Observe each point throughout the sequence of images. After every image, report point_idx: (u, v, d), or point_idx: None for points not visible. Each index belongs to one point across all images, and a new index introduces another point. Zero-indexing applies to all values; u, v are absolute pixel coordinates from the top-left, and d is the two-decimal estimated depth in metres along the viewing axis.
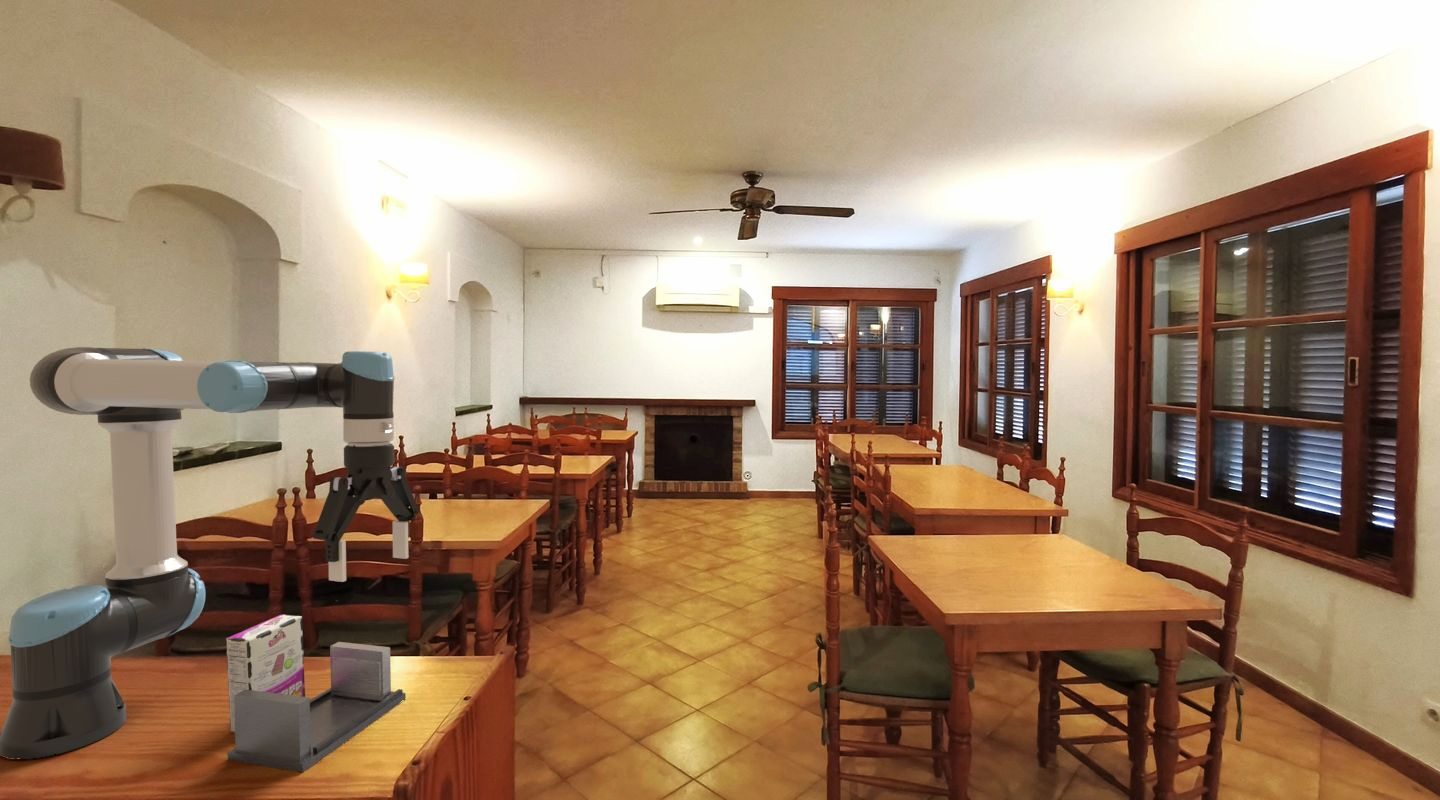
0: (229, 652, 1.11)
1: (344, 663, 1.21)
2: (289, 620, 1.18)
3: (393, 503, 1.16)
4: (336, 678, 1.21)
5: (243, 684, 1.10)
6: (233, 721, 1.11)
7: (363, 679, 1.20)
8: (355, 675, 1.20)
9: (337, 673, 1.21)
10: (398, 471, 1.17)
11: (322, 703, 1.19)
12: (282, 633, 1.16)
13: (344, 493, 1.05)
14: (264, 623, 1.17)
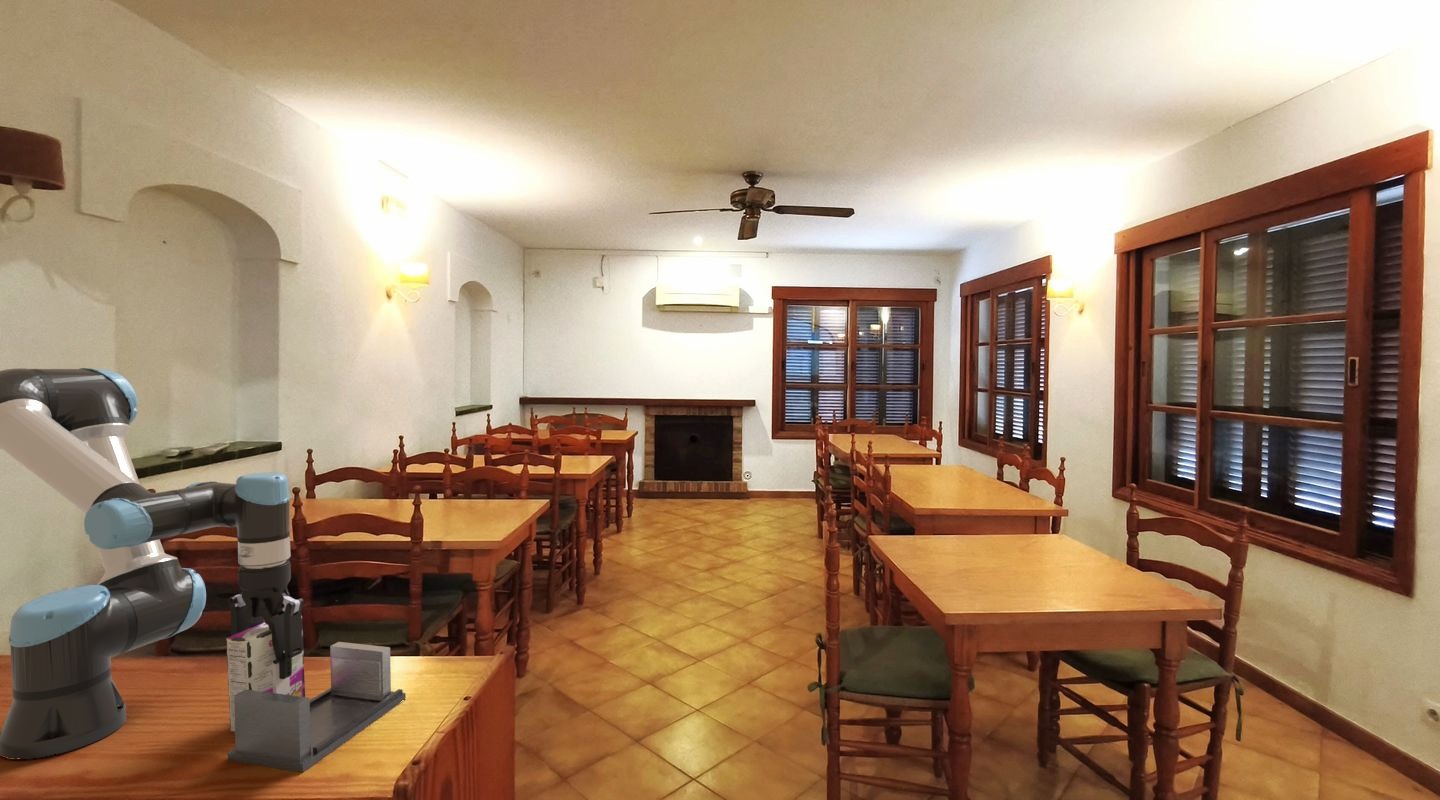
0: (230, 652, 1.11)
1: (344, 663, 1.21)
2: None
3: (272, 632, 1.14)
4: (336, 678, 1.21)
5: (243, 683, 1.10)
6: (233, 721, 1.11)
7: (363, 679, 1.20)
8: (355, 675, 1.20)
9: (337, 673, 1.21)
10: None
11: (322, 703, 1.19)
12: None
13: (233, 611, 1.15)
14: (264, 623, 1.17)
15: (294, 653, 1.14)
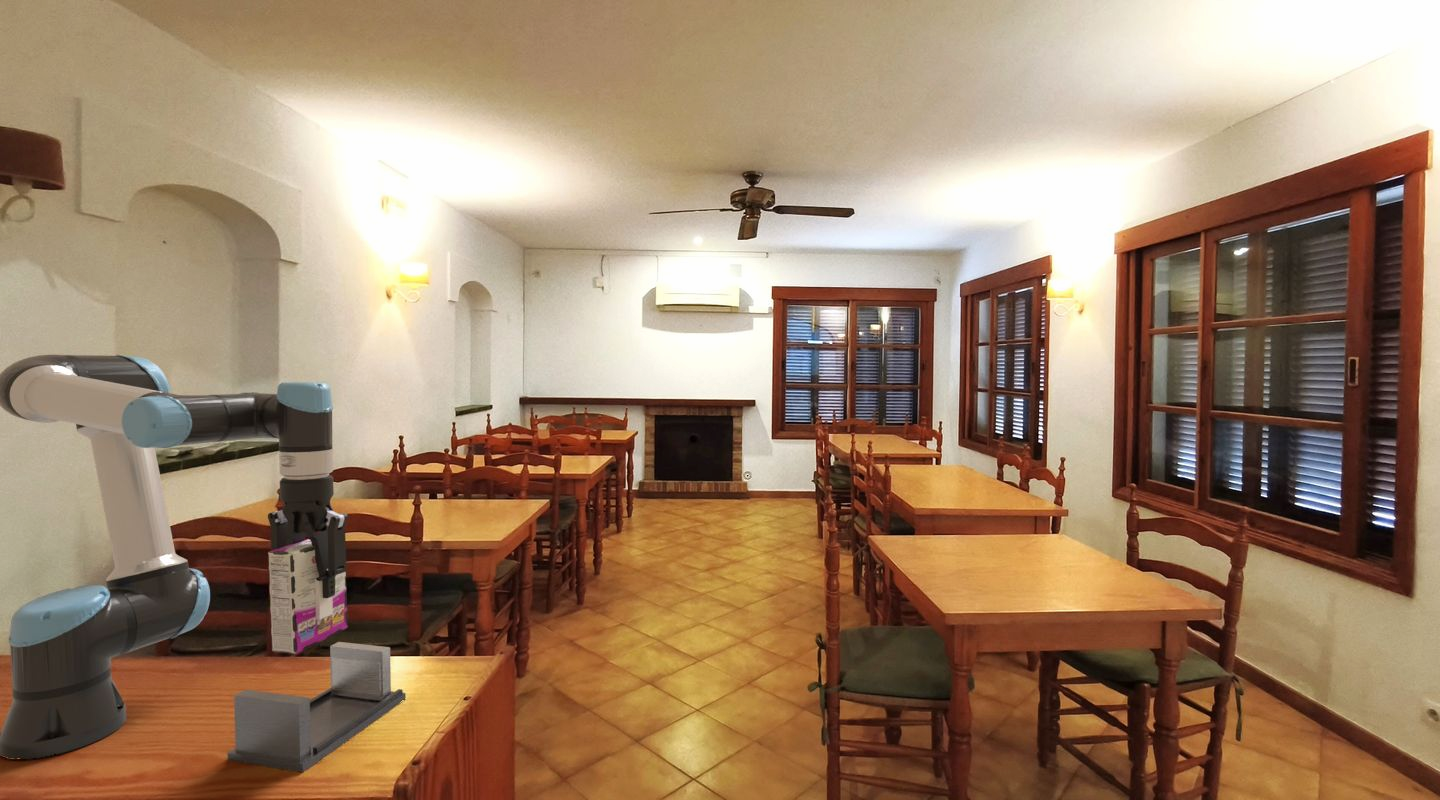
0: (271, 567, 1.05)
1: (344, 663, 1.21)
2: None
3: (315, 549, 1.08)
4: (336, 678, 1.21)
5: (285, 599, 1.04)
6: (275, 640, 1.05)
7: (363, 679, 1.20)
8: (355, 675, 1.20)
9: (337, 673, 1.21)
10: None
11: (322, 703, 1.19)
12: None
13: (273, 527, 1.09)
14: (306, 540, 1.11)
15: (338, 570, 1.08)
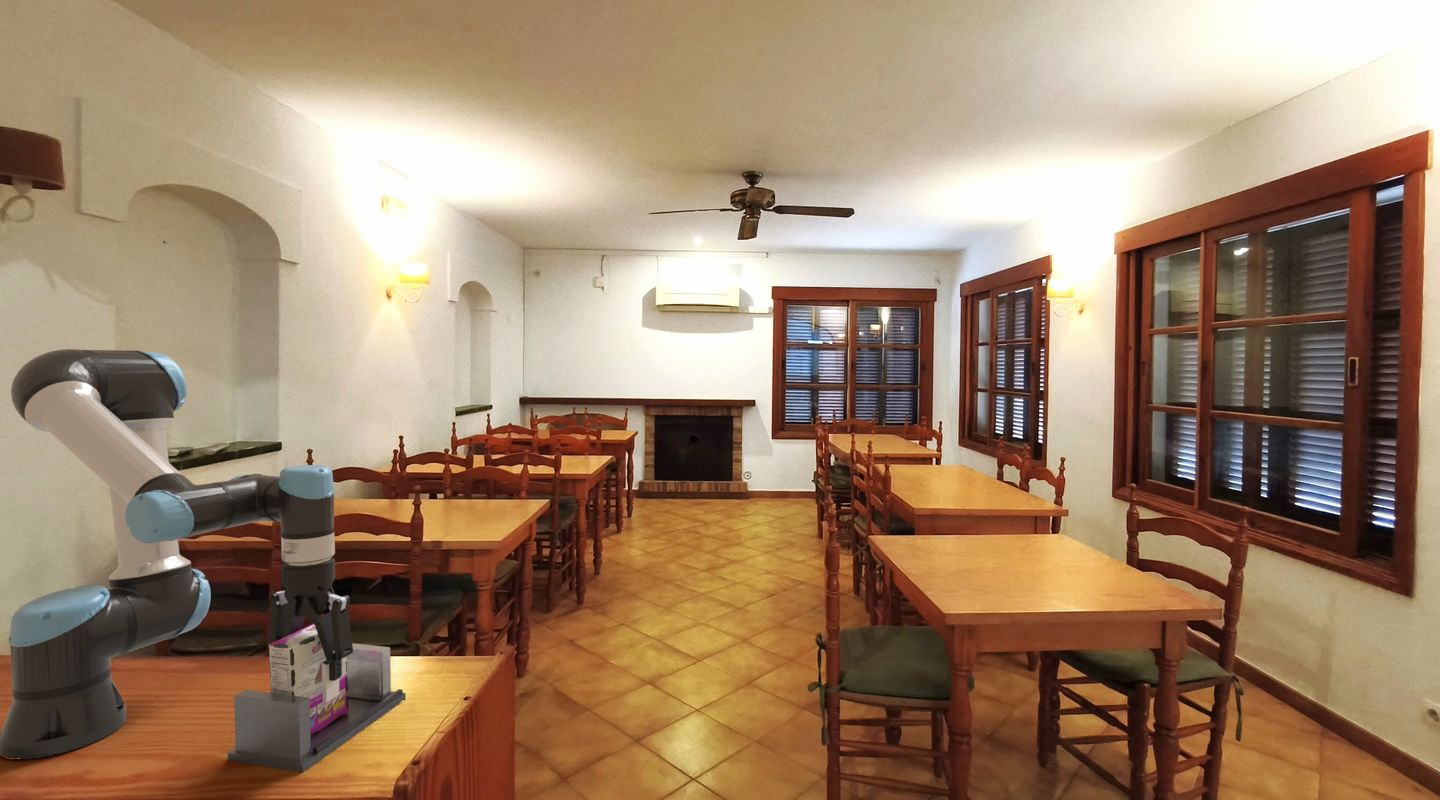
0: (272, 659, 1.05)
1: None
2: None
3: None
4: None
5: (286, 692, 1.05)
6: None
7: (363, 679, 1.20)
8: (355, 675, 1.20)
9: None
10: None
11: None
12: None
13: (274, 609, 1.10)
14: (307, 628, 1.11)
15: (345, 653, 1.08)
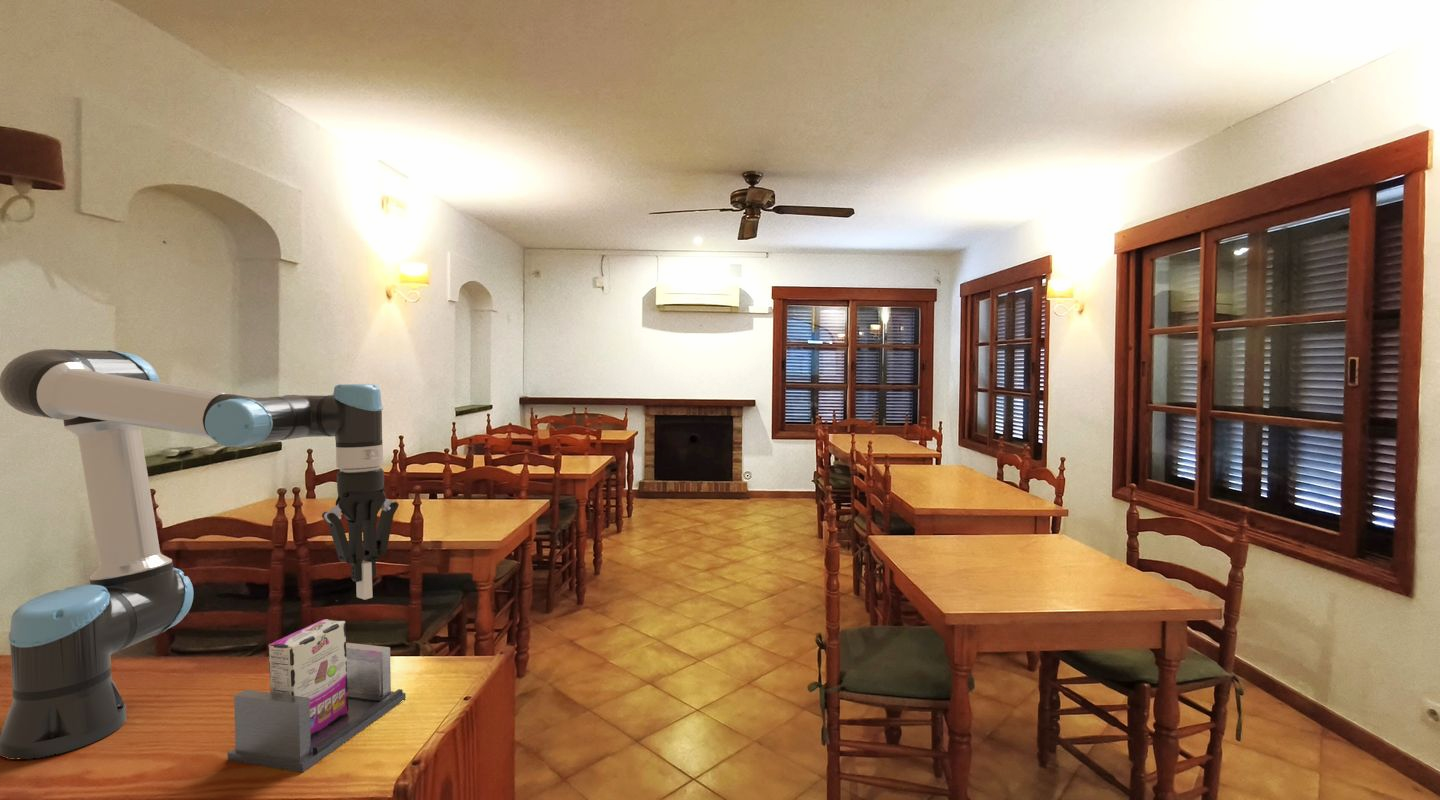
0: (272, 659, 1.05)
1: None
2: (332, 625, 1.13)
3: (368, 533, 1.21)
4: None
5: (285, 692, 1.05)
6: None
7: (363, 679, 1.20)
8: (355, 675, 1.20)
9: None
10: (391, 503, 1.24)
11: None
12: (326, 639, 1.11)
13: (338, 524, 1.16)
14: (307, 628, 1.11)
15: None
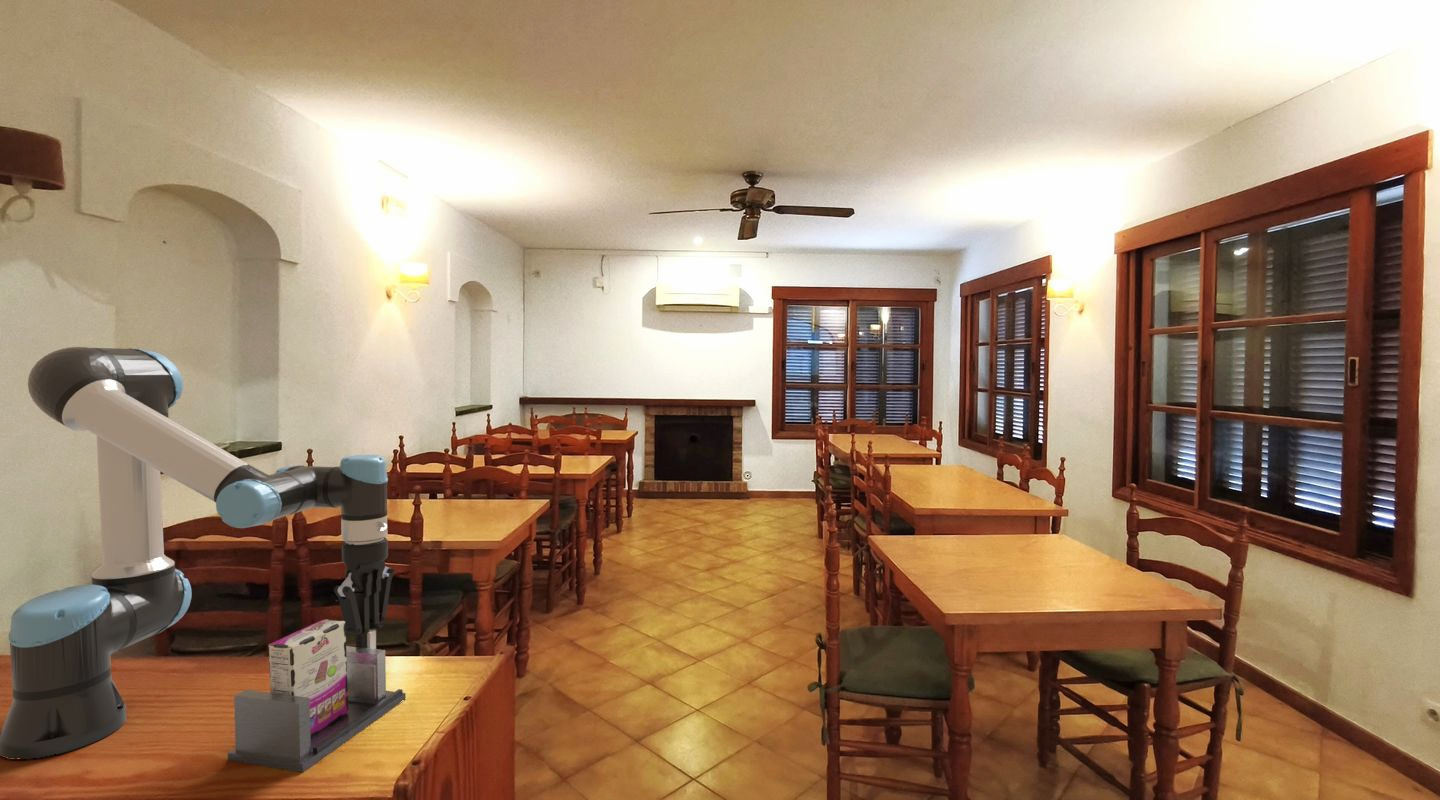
0: (272, 659, 1.05)
1: None
2: (332, 625, 1.13)
3: (372, 602, 1.23)
4: None
5: (285, 692, 1.05)
6: None
7: (358, 682, 1.19)
8: (350, 678, 1.19)
9: None
10: (389, 570, 1.27)
11: None
12: (326, 639, 1.11)
13: (352, 597, 1.18)
14: (307, 628, 1.11)
15: None
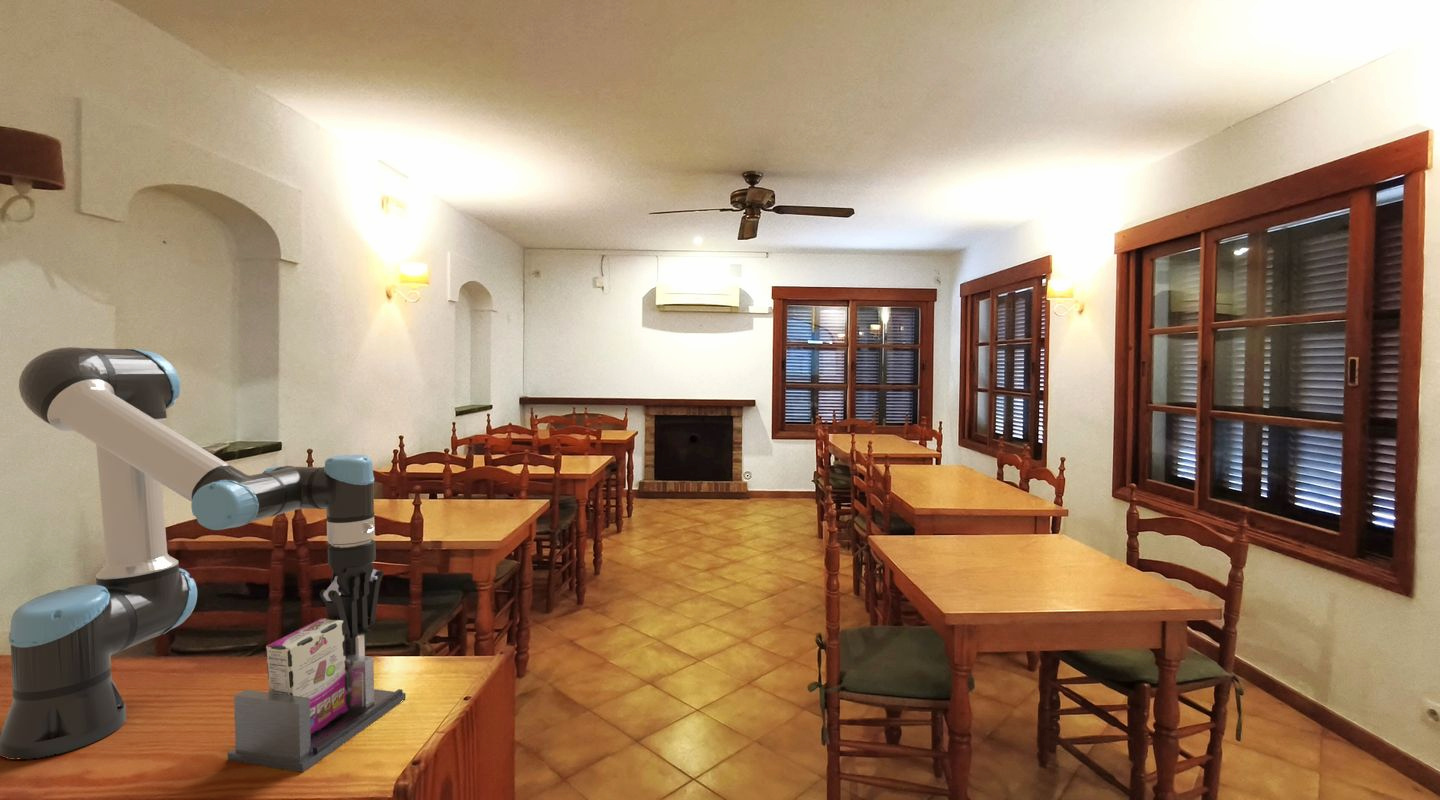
0: (270, 661, 1.05)
1: None
2: (330, 625, 1.12)
3: (360, 606, 1.20)
4: None
5: (284, 693, 1.05)
6: None
7: None
8: None
9: None
10: (377, 572, 1.24)
11: None
12: (324, 639, 1.10)
13: (339, 601, 1.14)
14: (305, 628, 1.11)
15: None
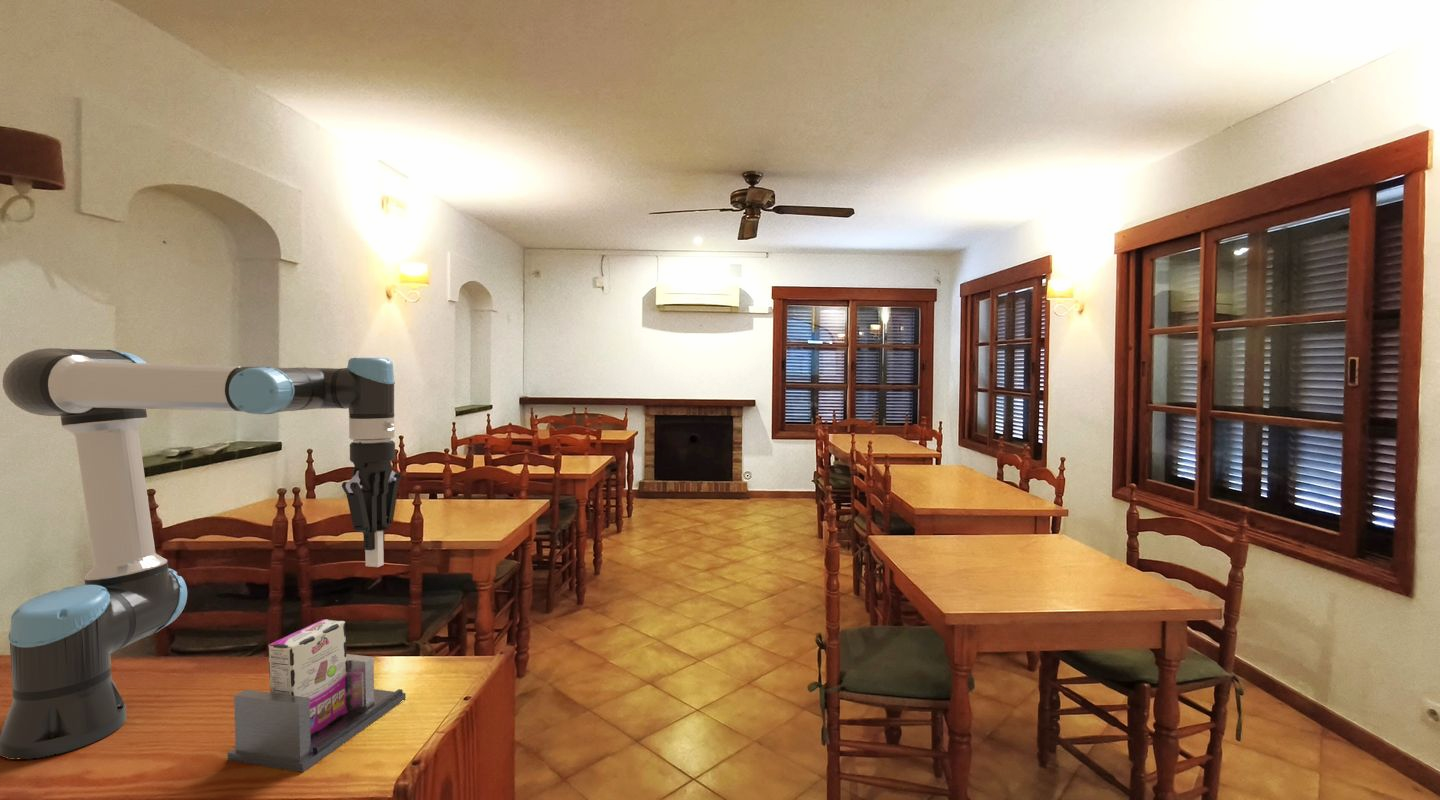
0: (272, 659, 1.05)
1: None
2: (332, 625, 1.13)
3: (379, 503, 1.24)
4: None
5: (285, 692, 1.05)
6: None
7: None
8: None
9: None
10: (396, 474, 1.29)
11: None
12: (325, 639, 1.11)
13: (360, 494, 1.19)
14: (306, 628, 1.11)
15: None
